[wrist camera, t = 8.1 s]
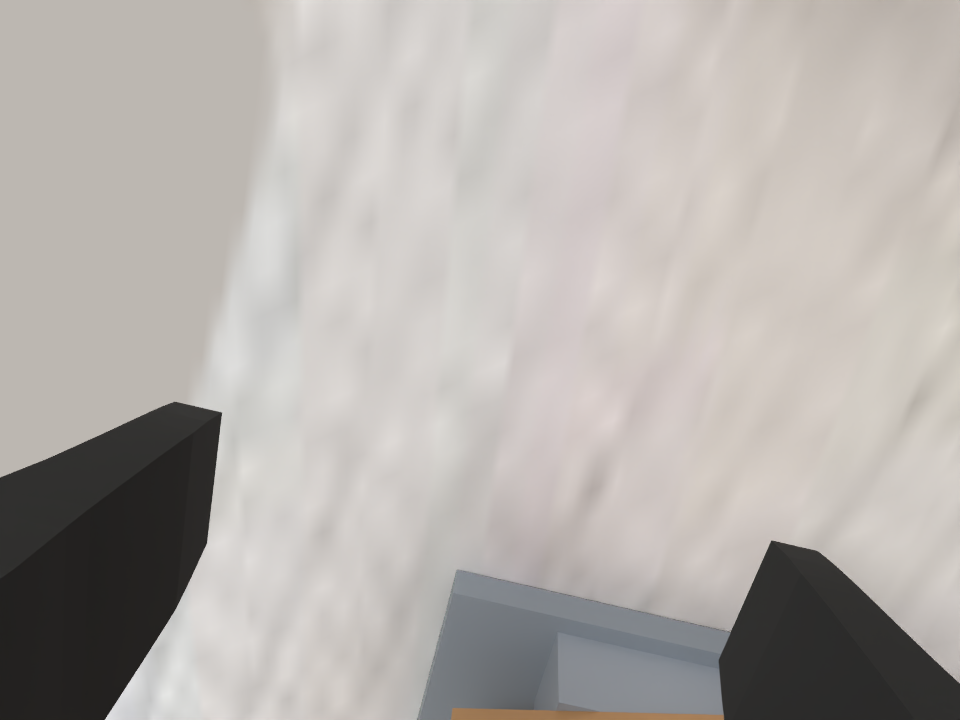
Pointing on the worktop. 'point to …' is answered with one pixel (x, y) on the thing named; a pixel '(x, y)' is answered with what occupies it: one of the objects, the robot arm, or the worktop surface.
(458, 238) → the worktop surface
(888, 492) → the worktop surface
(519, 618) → the display stand
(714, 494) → the worktop surface
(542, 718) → the tan c-shaped bracket
